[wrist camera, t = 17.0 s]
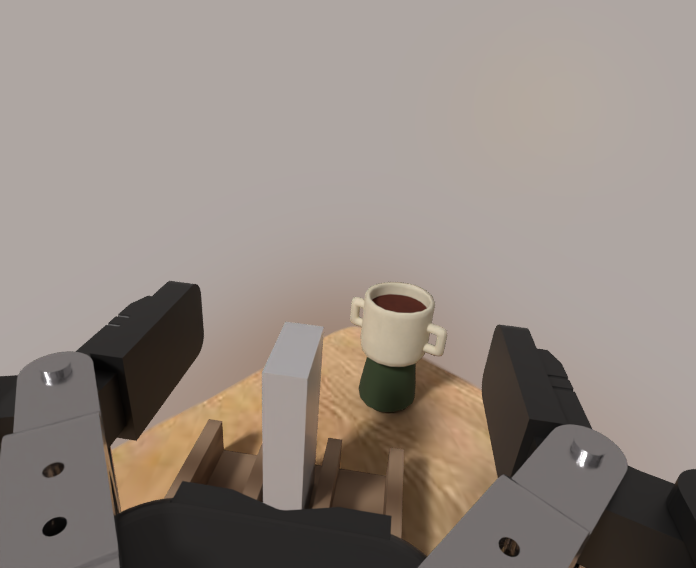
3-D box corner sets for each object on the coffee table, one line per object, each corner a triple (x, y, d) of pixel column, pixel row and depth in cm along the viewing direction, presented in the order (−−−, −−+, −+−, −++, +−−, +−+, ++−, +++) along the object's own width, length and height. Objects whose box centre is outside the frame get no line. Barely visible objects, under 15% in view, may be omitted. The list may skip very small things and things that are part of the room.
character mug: (442, 400, 53) (463, 300, 47) (416, 438, 48) (437, 330, 42) (360, 364, 58) (370, 270, 52) (328, 395, 53) (335, 293, 47)
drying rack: (211, 455, 44) (209, 419, 42) (397, 485, 42) (404, 449, 40) (159, 558, 35) (152, 518, 33) (392, 601, 33) (400, 561, 31)
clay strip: (282, 478, 41) (285, 321, 34) (314, 483, 41) (323, 326, 33) (263, 542, 35) (261, 372, 28) (299, 548, 35) (307, 378, 28)
